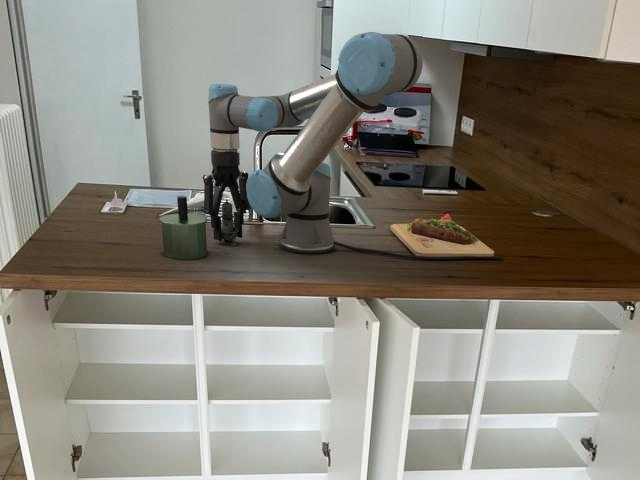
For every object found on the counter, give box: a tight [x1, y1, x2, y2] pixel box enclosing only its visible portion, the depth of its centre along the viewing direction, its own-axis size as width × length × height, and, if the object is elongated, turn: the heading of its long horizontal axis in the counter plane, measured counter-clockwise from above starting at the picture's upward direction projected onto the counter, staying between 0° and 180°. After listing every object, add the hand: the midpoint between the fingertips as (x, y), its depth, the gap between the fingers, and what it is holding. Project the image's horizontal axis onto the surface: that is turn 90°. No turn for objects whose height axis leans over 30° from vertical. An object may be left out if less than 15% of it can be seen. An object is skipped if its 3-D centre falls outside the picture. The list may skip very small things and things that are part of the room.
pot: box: [161, 222, 208, 260], centre depth 197 cm, size 11×11×8 cm
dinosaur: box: [159, 190, 237, 217], centre depth 244 cm, size 25×9×16 cm
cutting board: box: [389, 213, 495, 257], centre depth 222 cm, size 35×23×8 cm
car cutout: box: [100, 190, 129, 215], centre depth 239 cm, size 15×7×4 cm, turn 9°
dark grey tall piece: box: [218, 198, 239, 247], centre depth 208 cm, size 6×6×12 cm
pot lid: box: [159, 195, 208, 226], centre depth 193 cm, size 12×12×7 cm
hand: (228, 238), depth 210 cm, fingers open, 6 cm apart
